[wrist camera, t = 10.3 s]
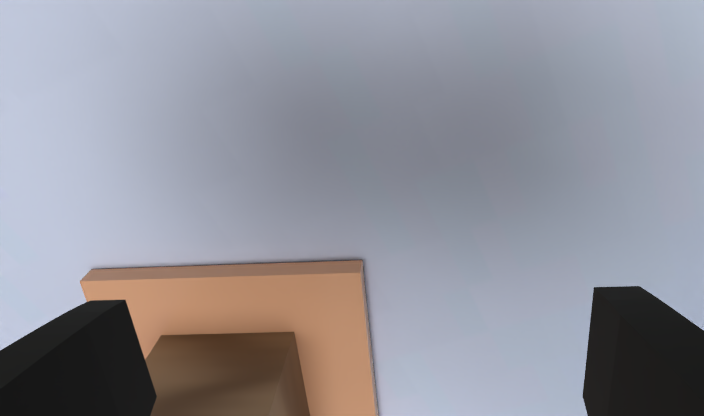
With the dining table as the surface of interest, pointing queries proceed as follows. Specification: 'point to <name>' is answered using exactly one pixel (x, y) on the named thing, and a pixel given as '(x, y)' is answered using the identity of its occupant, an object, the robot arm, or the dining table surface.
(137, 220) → the dining table surface
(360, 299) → the terracotta tile
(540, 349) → the dining table surface
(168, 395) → the walnut block
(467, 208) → the dining table surface
